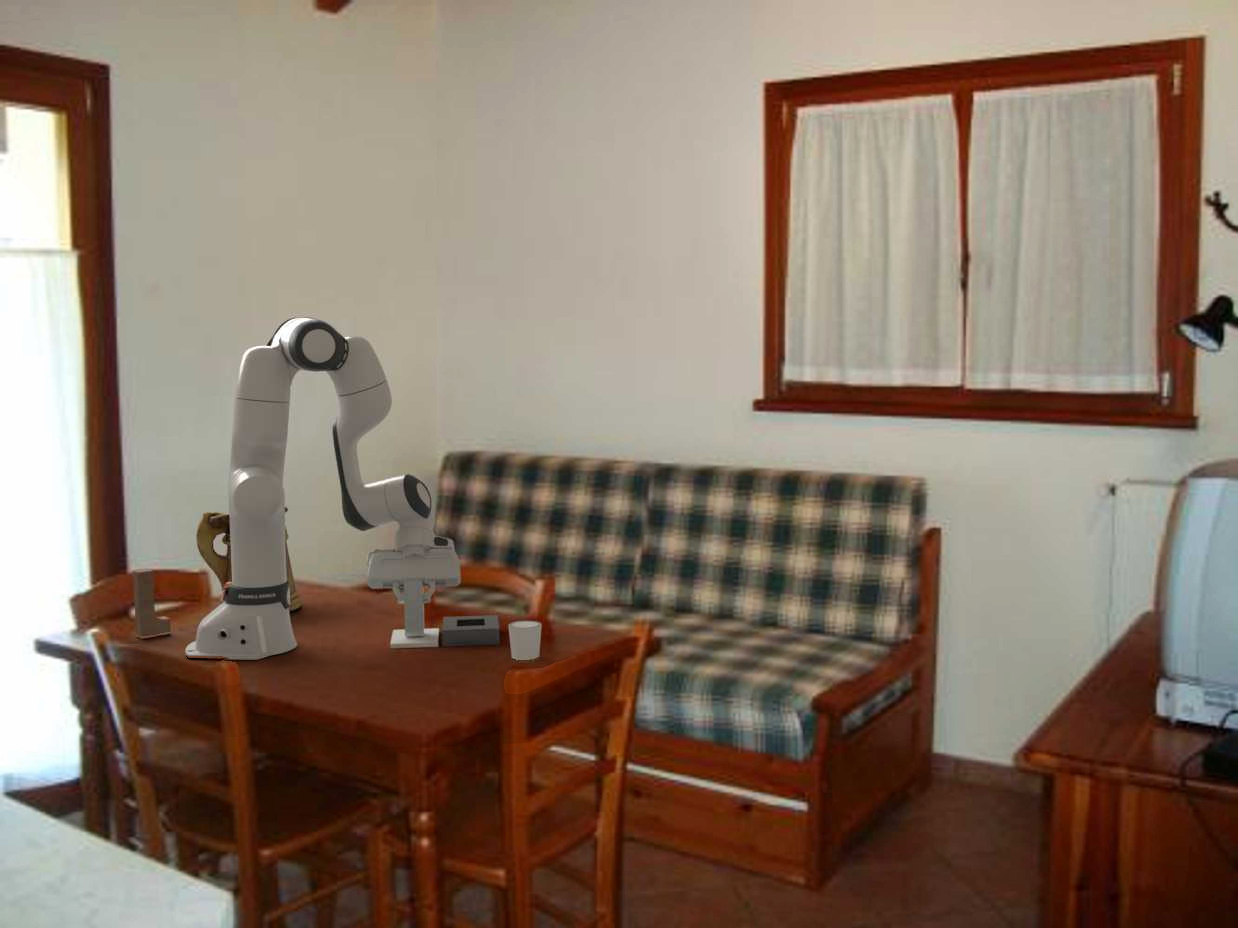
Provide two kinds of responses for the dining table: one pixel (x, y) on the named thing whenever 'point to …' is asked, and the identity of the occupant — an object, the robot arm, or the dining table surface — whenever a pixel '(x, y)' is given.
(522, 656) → the white cup
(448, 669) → the dining table surface
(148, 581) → the wooden block
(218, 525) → the tankard
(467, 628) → the metal socket
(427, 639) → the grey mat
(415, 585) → the steel peg
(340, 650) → the dining table surface
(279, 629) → the robot arm
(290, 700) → the dining table surface
